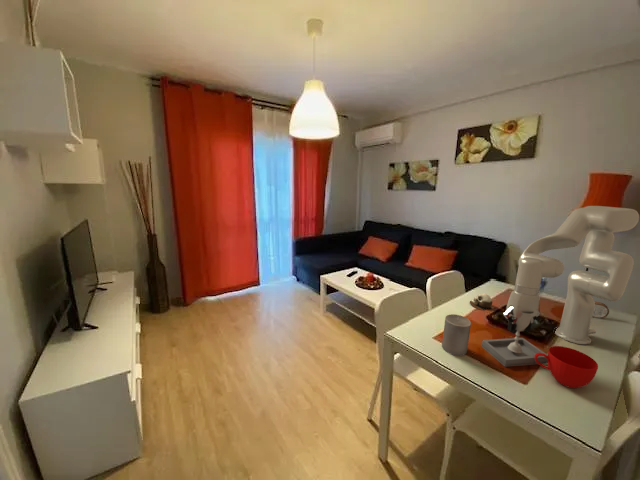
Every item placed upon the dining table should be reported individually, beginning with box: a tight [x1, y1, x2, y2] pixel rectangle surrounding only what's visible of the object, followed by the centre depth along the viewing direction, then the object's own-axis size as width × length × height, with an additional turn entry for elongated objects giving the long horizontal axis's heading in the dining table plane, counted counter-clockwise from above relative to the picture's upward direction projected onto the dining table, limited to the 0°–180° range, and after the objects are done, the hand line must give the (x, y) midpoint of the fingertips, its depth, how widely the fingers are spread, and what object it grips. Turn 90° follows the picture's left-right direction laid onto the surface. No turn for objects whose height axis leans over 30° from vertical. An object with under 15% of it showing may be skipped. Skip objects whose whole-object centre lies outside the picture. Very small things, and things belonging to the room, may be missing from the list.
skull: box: [469, 293, 495, 312], centre depth 155 cm, size 12×10×10 cm
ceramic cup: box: [534, 345, 599, 389], centre depth 97 cm, size 13×17×10 cm
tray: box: [481, 337, 548, 368], centre depth 112 cm, size 19×13×3 cm
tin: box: [592, 300, 610, 319], centre depth 144 cm, size 15×3×8 cm, turn 58°
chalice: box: [508, 312, 533, 353], centre depth 110 cm, size 7×7×18 cm
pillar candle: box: [441, 314, 472, 357], centre depth 114 cm, size 10×10×15 cm
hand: (518, 330), depth 110 cm, fingers closed on chalice, 5 cm apart
